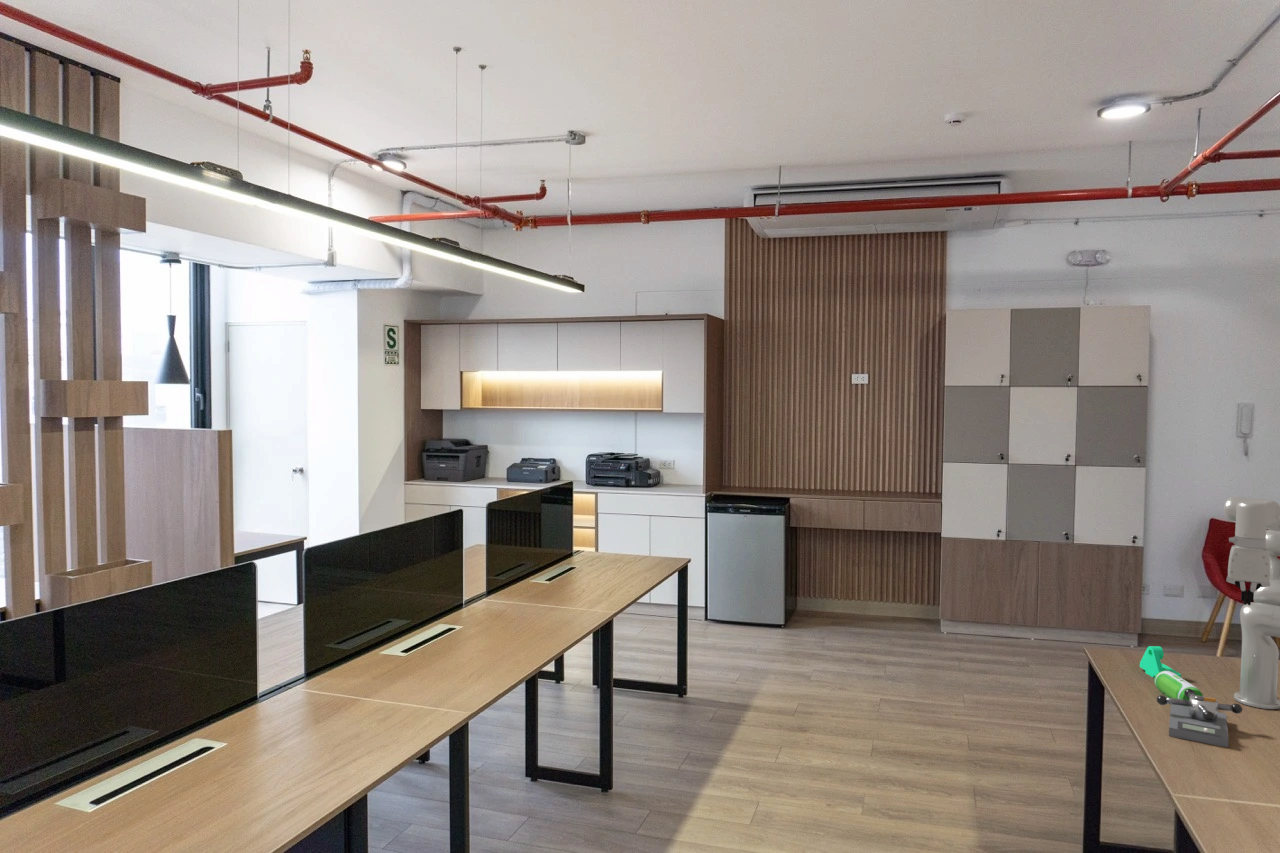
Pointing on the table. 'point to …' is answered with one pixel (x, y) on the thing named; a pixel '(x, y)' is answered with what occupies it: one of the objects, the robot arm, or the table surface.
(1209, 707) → the capstan
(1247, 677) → the robot arm
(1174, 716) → the stand
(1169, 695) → the speaker
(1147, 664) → the camera mount
